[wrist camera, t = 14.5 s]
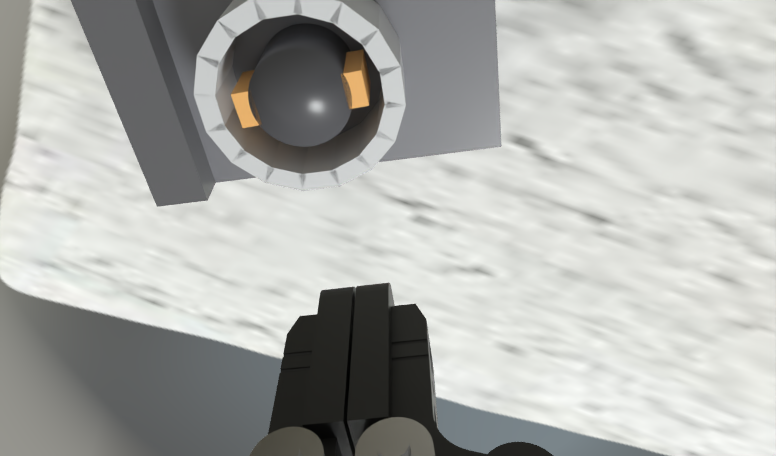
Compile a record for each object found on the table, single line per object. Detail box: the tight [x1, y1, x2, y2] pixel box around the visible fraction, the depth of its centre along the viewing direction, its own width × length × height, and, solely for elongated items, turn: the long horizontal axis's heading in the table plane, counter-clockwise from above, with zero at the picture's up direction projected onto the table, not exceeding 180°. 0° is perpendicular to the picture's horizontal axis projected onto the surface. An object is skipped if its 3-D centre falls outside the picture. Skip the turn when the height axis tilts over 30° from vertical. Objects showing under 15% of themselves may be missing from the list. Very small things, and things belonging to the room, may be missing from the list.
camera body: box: [71, 0, 501, 207], centre depth 35 cm, size 20×12×11 cm, turn 98°
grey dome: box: [231, 23, 371, 147], centre depth 32 cm, size 6×5×4 cm
